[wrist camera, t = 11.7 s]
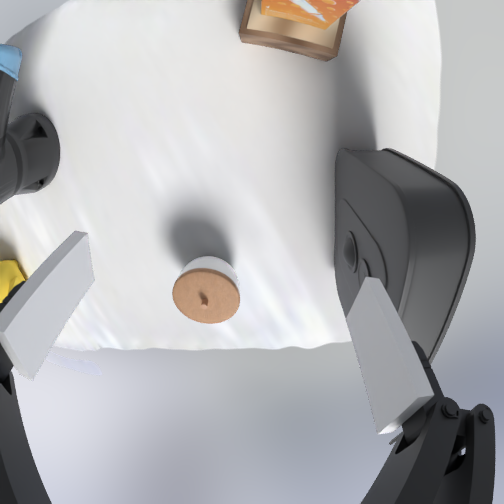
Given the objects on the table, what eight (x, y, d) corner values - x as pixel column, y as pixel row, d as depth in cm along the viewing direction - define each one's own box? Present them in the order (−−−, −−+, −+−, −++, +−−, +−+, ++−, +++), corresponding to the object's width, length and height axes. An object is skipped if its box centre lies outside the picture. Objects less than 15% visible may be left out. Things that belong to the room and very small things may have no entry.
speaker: (369, 277, 50) (418, 387, 29) (325, 282, 51) (357, 401, 30) (378, 142, 38) (486, 202, 16) (324, 142, 39) (401, 205, 17)
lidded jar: (190, 296, 54) (179, 331, 46) (176, 248, 48) (161, 280, 40) (245, 293, 53) (243, 329, 45) (237, 242, 47) (233, 275, 39)
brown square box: (241, 42, 31) (238, 32, 26) (259, -24, 25) (259, -41, 20) (326, 61, 32) (337, 55, 27) (341, -4, 26) (353, -18, 21)
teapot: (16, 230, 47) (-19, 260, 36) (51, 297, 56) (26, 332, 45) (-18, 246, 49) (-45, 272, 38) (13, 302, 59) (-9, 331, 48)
